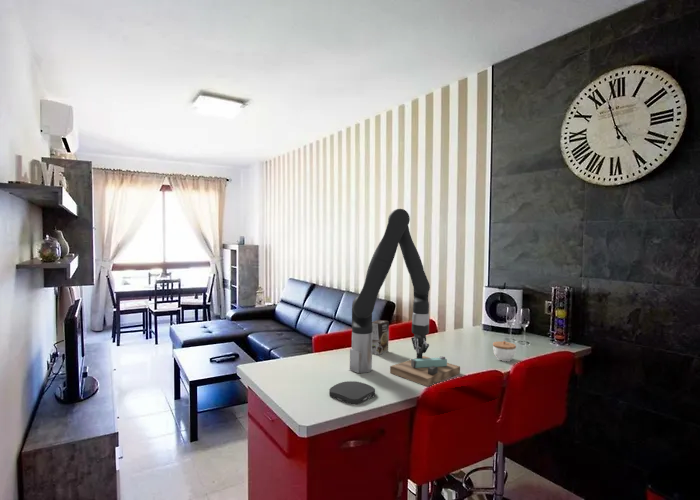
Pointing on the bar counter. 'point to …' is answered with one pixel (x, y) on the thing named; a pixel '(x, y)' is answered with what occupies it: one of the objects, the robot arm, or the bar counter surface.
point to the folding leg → (429, 362)
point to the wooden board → (424, 372)
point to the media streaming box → (352, 392)
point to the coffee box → (380, 336)
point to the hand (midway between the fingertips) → (419, 361)
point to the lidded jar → (504, 350)
